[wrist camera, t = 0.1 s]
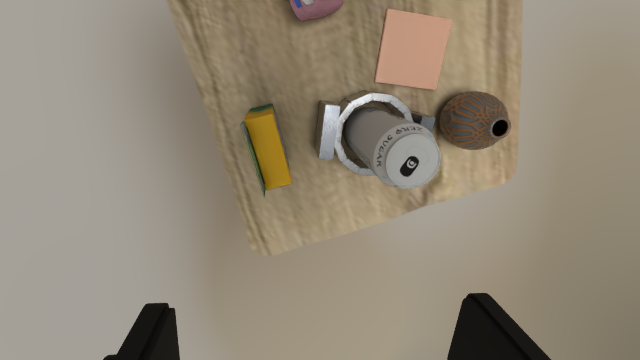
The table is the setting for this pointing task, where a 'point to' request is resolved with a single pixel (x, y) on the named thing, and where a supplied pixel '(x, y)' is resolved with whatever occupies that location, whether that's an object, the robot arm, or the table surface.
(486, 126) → the vase
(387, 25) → the coaster
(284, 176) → the crayon box
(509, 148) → the table surface
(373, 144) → the energy drink can
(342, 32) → the table surface
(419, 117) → the ring holder
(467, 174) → the table surface
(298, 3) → the video game controller
